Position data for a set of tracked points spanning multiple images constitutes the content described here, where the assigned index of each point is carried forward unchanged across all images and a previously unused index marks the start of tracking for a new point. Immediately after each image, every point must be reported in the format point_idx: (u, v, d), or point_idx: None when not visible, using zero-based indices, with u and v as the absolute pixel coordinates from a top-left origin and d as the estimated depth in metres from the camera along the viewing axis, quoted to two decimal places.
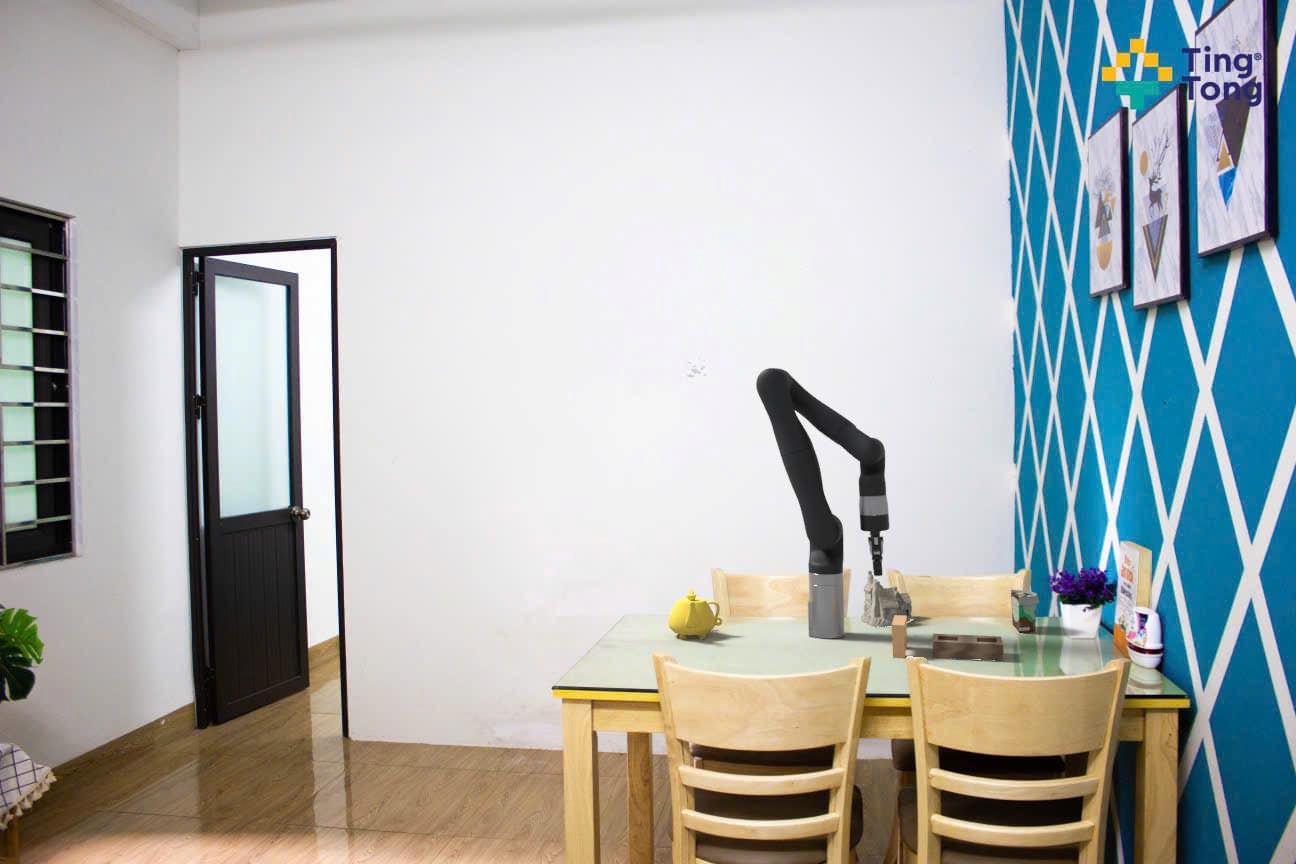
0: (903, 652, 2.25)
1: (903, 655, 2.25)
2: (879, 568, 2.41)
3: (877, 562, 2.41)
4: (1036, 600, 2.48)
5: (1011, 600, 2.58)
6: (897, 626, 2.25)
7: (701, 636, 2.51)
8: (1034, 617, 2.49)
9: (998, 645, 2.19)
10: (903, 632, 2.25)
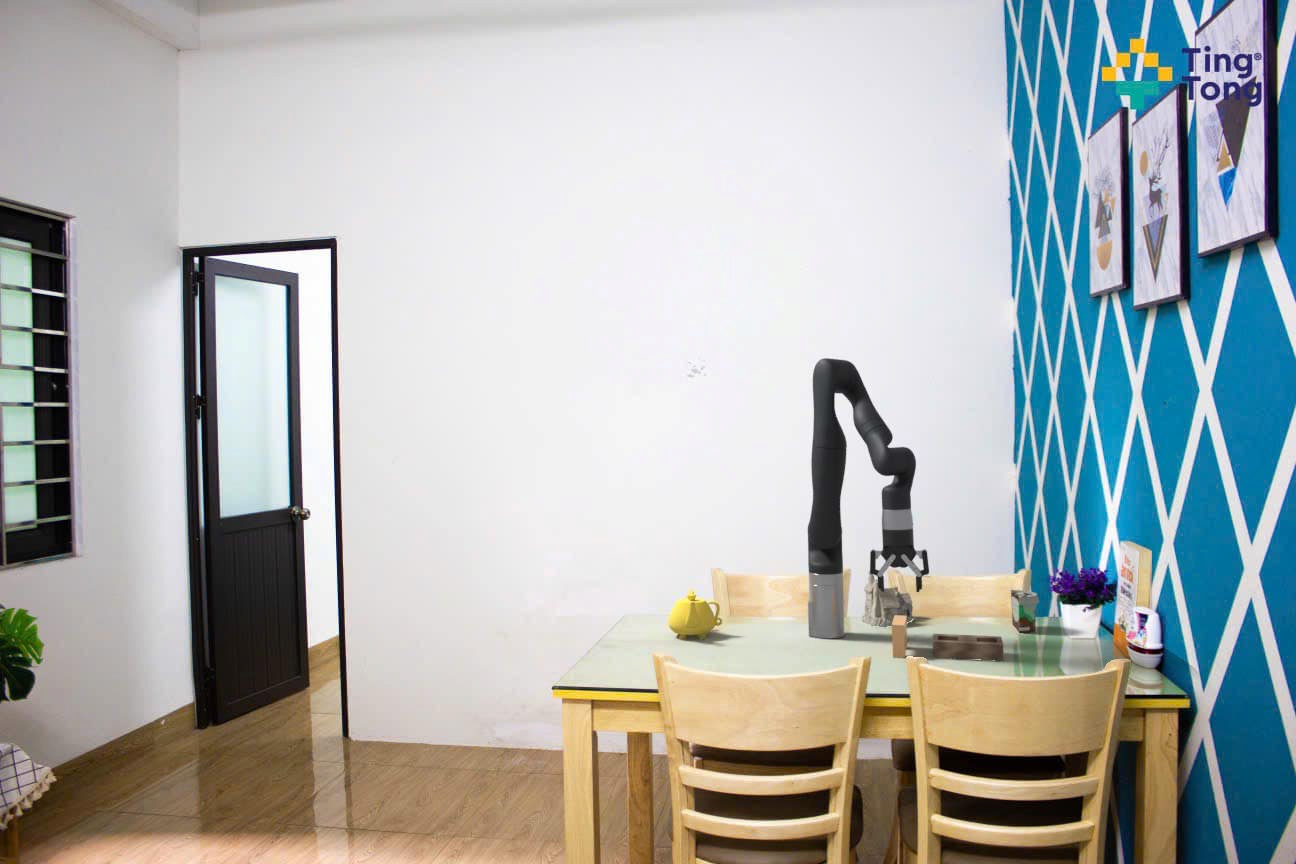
0: (903, 652, 2.25)
1: (903, 655, 2.25)
2: None
3: (921, 577, 2.29)
4: (1036, 600, 2.48)
5: (1011, 600, 2.58)
6: (897, 626, 2.25)
7: (701, 636, 2.51)
8: (1034, 617, 2.49)
9: (998, 645, 2.19)
10: (903, 632, 2.25)
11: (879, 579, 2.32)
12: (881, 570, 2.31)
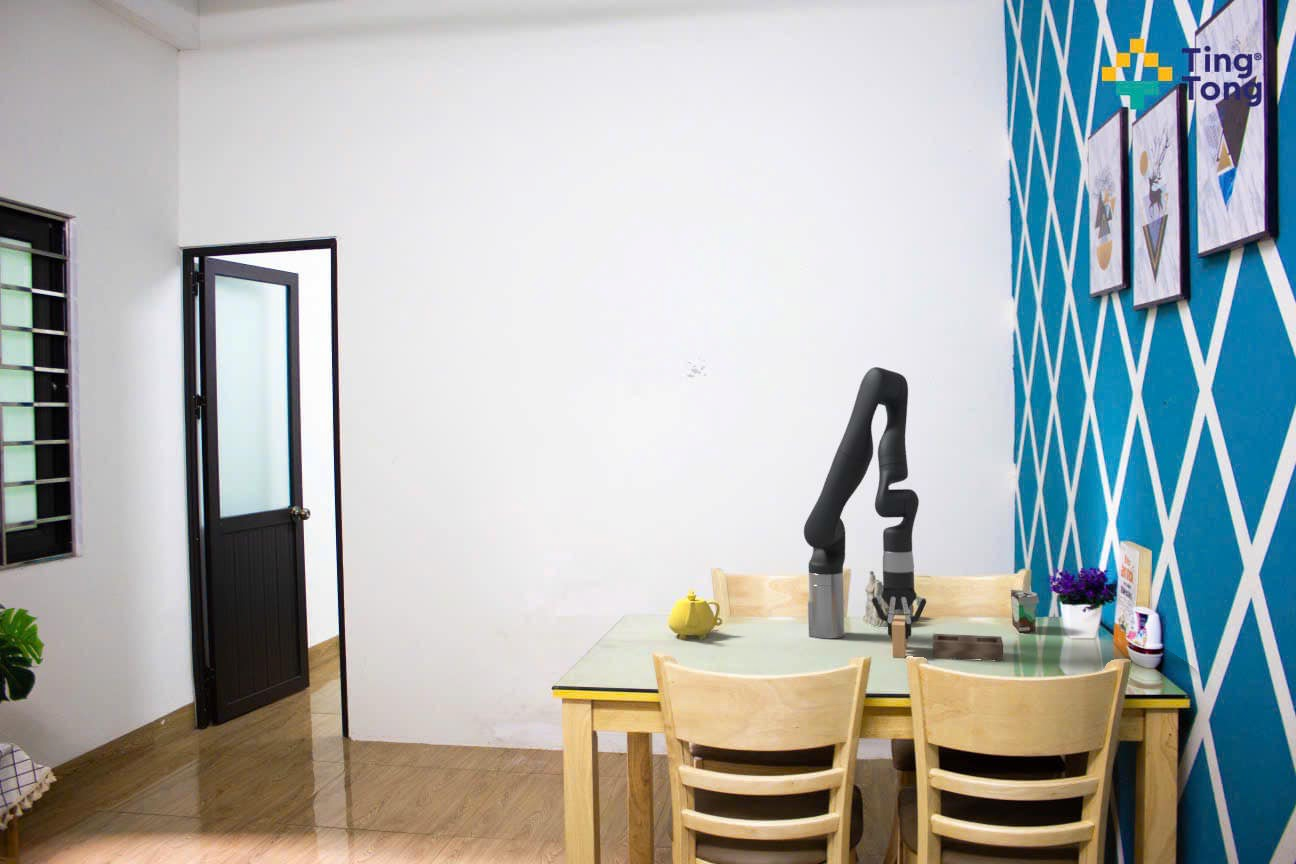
0: (903, 652, 2.25)
1: (903, 655, 2.25)
2: None
3: None
4: (1036, 600, 2.48)
5: (1011, 600, 2.58)
6: (897, 626, 2.25)
7: (701, 636, 2.51)
8: (1034, 617, 2.49)
9: (998, 645, 2.19)
10: (903, 632, 2.25)
11: (889, 625, 2.31)
12: (889, 616, 2.30)
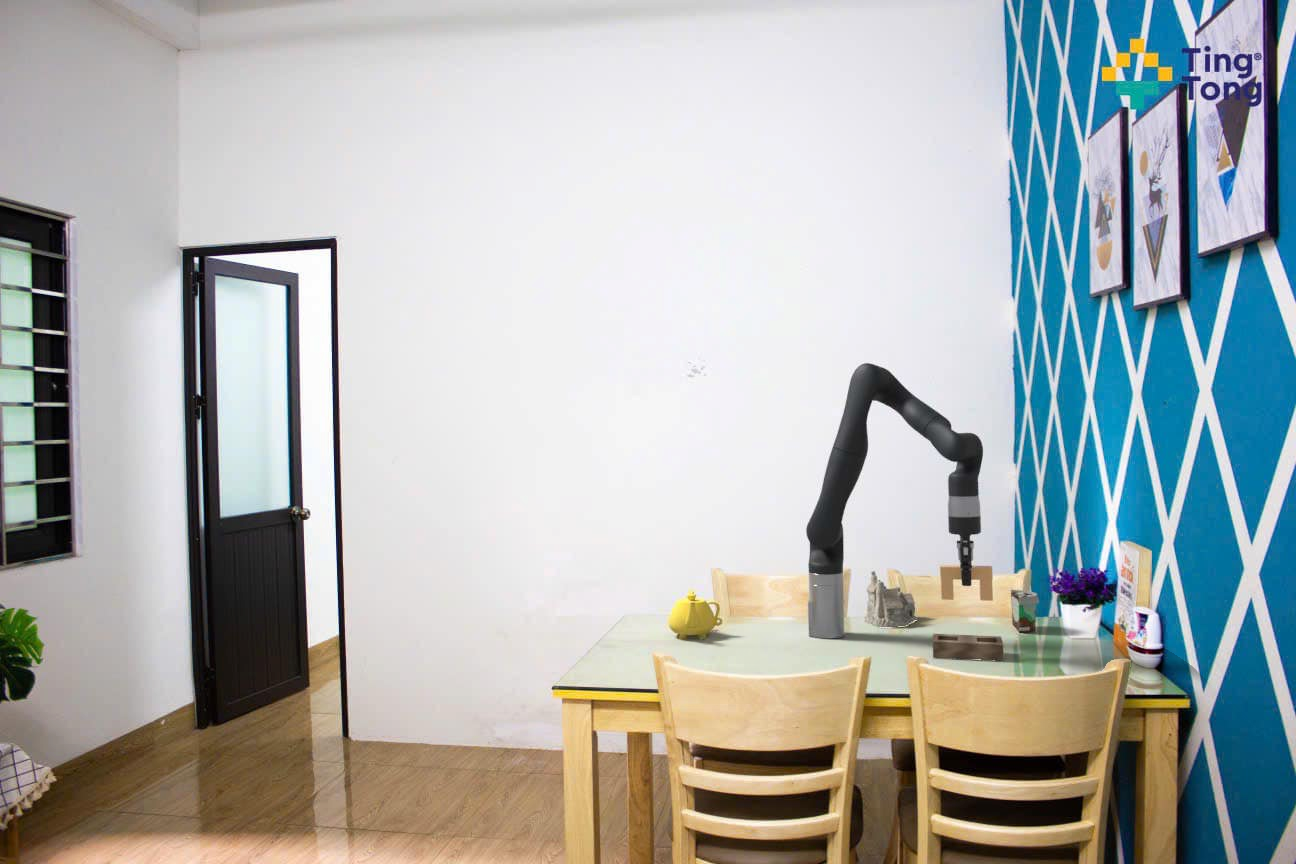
0: None
1: None
2: None
3: None
4: (1036, 600, 2.48)
5: (1011, 600, 2.58)
6: None
7: (701, 636, 2.51)
8: (1034, 617, 2.49)
9: (998, 645, 2.19)
10: None
11: (969, 573, 2.23)
12: None
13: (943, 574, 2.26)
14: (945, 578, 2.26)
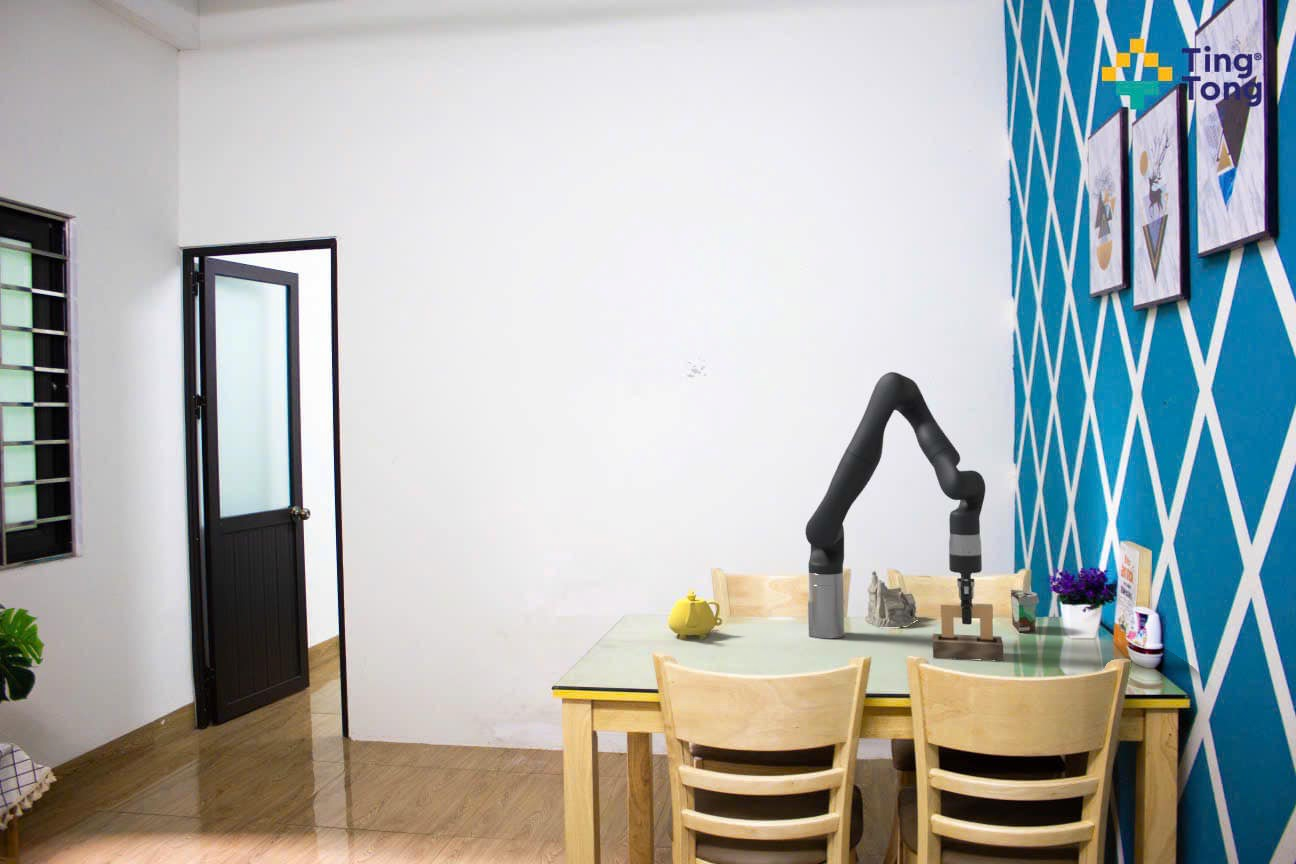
0: None
1: None
2: None
3: None
4: (1036, 600, 2.48)
5: (1011, 600, 2.58)
6: None
7: (701, 636, 2.51)
8: (1034, 617, 2.49)
9: (998, 645, 2.19)
10: None
11: (969, 612, 2.23)
12: None
13: (944, 612, 2.26)
14: (945, 616, 2.26)
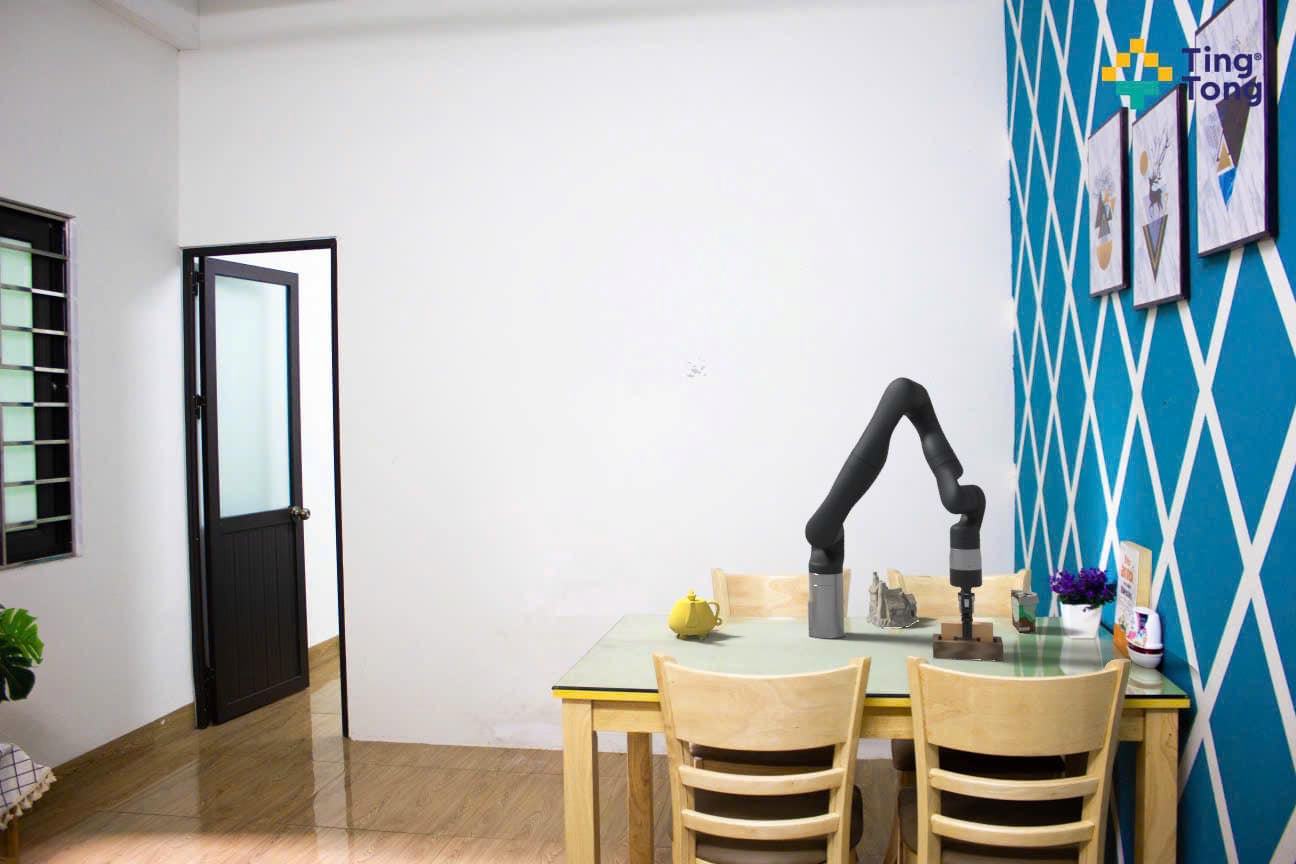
0: None
1: None
2: None
3: None
4: (1036, 600, 2.48)
5: (1011, 600, 2.58)
6: (992, 625, 2.24)
7: (701, 636, 2.51)
8: (1034, 617, 2.49)
9: (998, 645, 2.19)
10: None
11: (970, 626, 2.22)
12: None
13: (944, 630, 2.26)
14: (946, 634, 2.26)
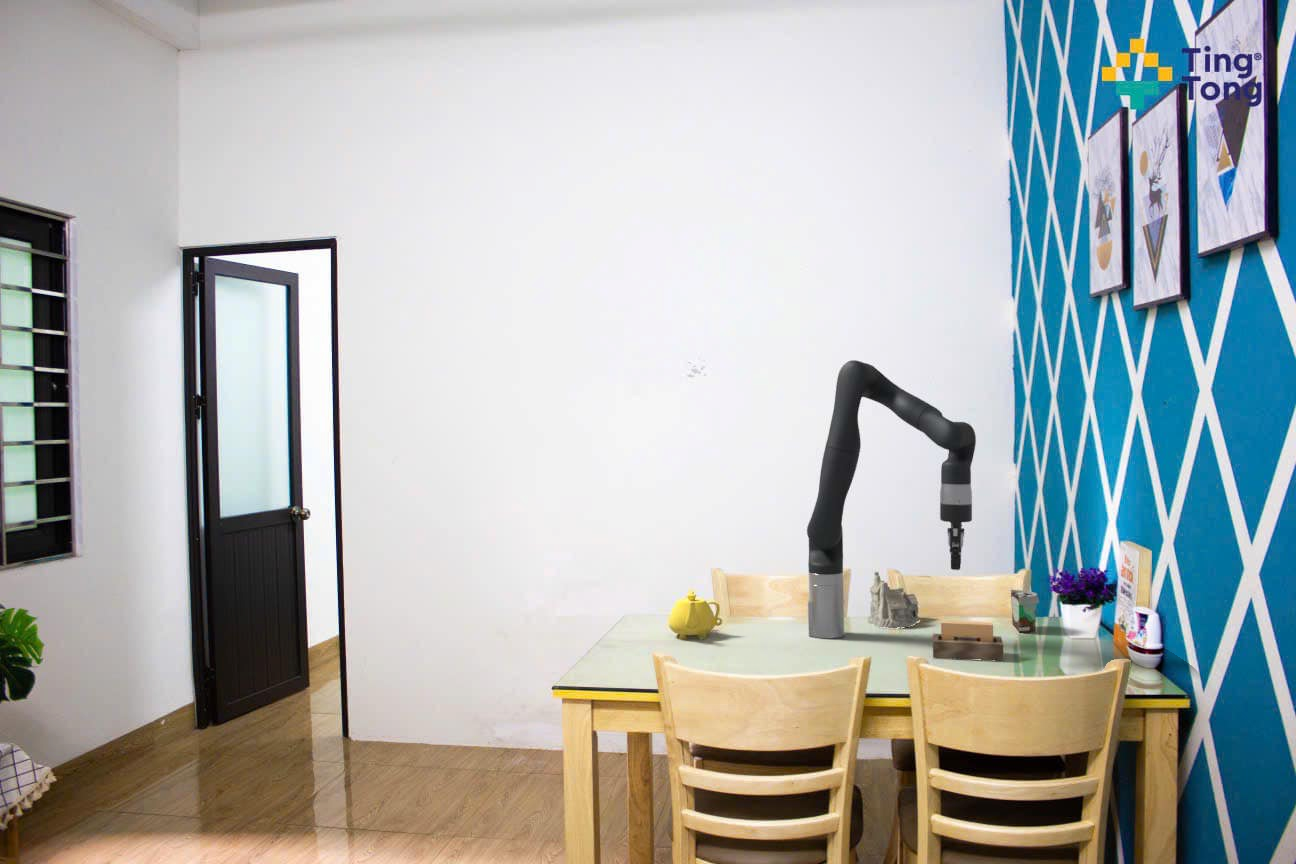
0: None
1: None
2: None
3: None
4: (1036, 600, 2.48)
5: (1011, 600, 2.58)
6: (992, 625, 2.24)
7: (701, 636, 2.51)
8: (1034, 617, 2.49)
9: (998, 645, 2.19)
10: None
11: (958, 557, 2.24)
12: (960, 547, 2.25)
13: (944, 630, 2.26)
14: (946, 634, 2.26)
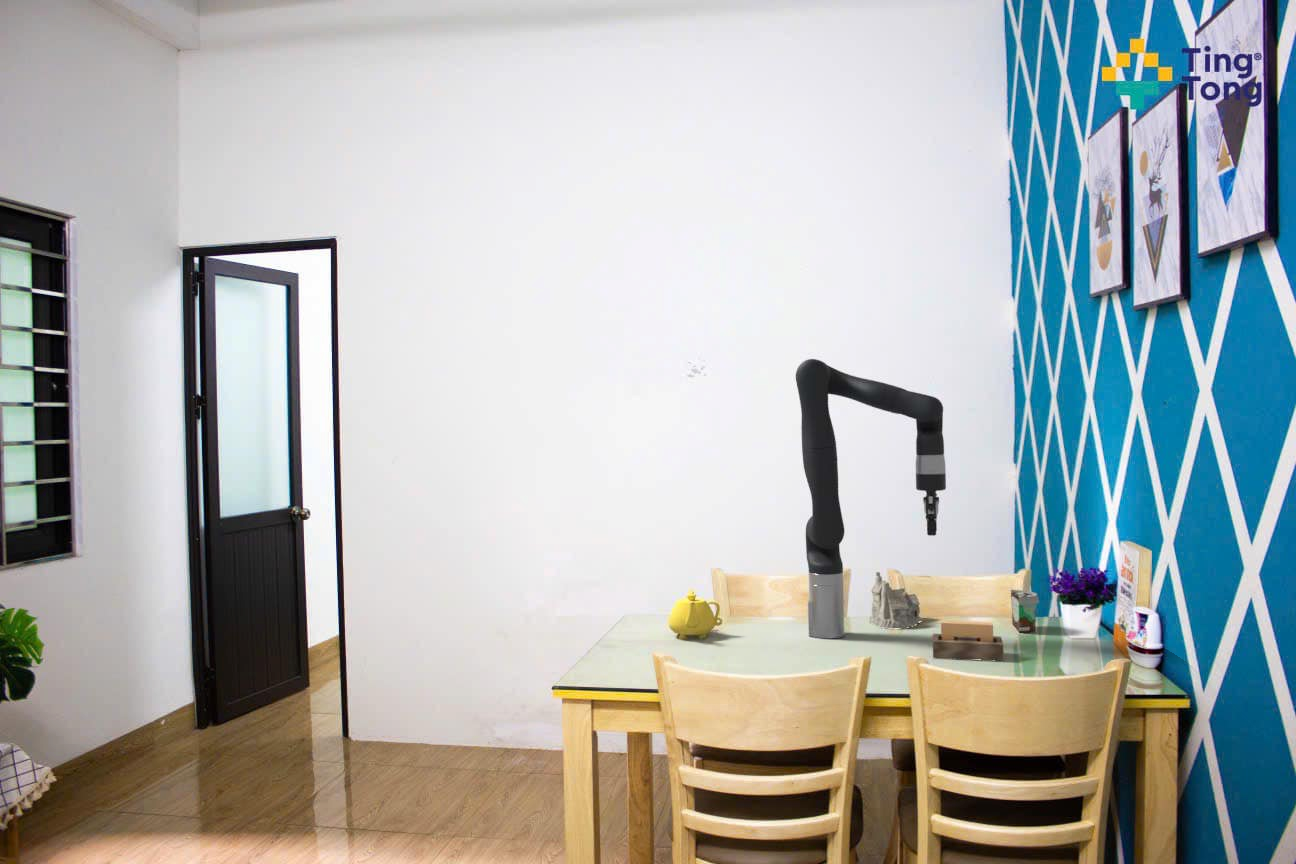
0: None
1: None
2: None
3: None
4: (1036, 600, 2.48)
5: (1011, 600, 2.58)
6: (992, 625, 2.24)
7: (701, 636, 2.51)
8: (1034, 617, 2.49)
9: (998, 645, 2.19)
10: None
11: (934, 523, 2.38)
12: (935, 514, 2.38)
13: (944, 630, 2.26)
14: (946, 634, 2.26)
